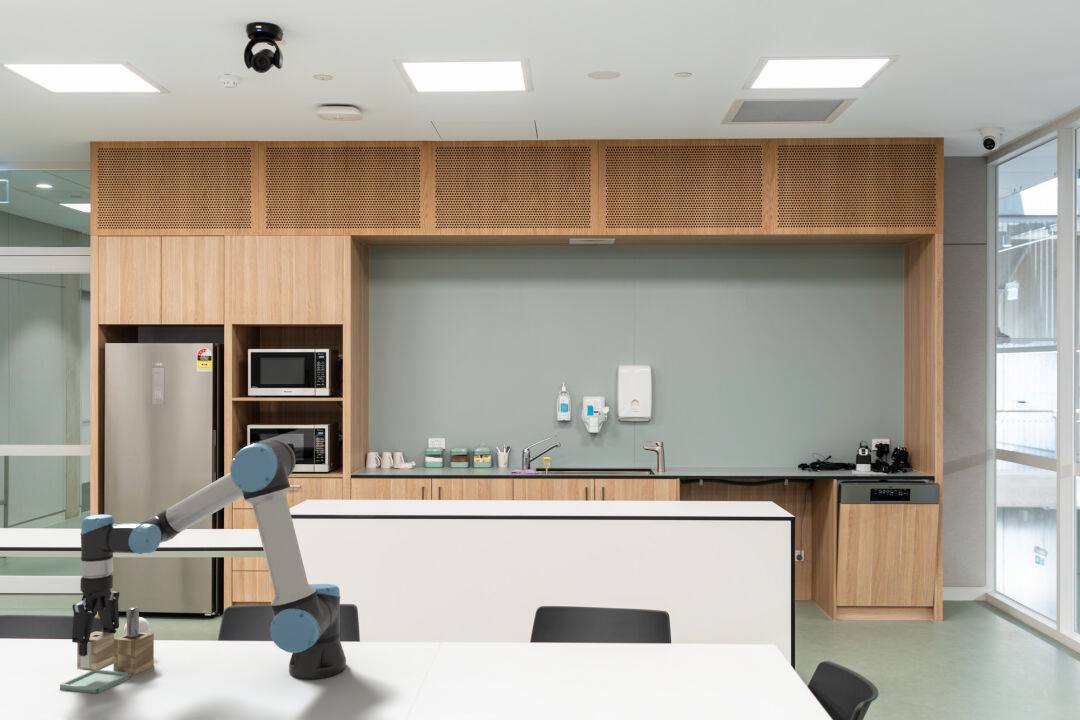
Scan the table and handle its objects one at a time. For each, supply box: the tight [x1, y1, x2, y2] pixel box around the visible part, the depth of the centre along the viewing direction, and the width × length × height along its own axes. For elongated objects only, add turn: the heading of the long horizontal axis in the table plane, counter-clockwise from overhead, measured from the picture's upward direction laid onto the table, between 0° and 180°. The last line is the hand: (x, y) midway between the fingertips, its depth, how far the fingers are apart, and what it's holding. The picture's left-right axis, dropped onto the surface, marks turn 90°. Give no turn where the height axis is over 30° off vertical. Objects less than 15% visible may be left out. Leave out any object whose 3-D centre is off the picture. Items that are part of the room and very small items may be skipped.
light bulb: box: [123, 616, 150, 635], centre depth 238 cm, size 7×7×11 cm
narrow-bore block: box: [76, 631, 115, 672], centre depth 217 cm, size 6×6×8 cm
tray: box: [59, 669, 132, 695], centre depth 217 cm, size 12×12×1 cm
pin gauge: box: [126, 606, 140, 639], centre depth 228 cm, size 3×3×15 cm
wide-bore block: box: [113, 632, 155, 675], centre depth 227 cm, size 7×7×9 cm
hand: (95, 662), depth 217 cm, fingers closed on narrow-bore block, 6 cm apart
